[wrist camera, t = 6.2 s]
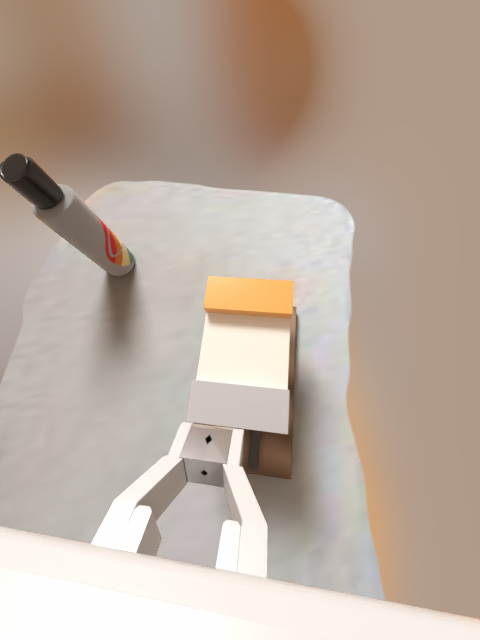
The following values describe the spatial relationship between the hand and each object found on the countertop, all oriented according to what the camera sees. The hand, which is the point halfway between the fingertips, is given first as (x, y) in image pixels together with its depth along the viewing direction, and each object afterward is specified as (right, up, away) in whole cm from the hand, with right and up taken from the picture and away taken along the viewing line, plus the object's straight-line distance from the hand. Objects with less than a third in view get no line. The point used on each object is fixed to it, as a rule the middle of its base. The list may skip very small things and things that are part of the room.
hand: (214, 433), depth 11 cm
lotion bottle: (-22, +16, +32) cm, 42 cm away
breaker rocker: (+2, +2, +17) cm, 17 cm away
